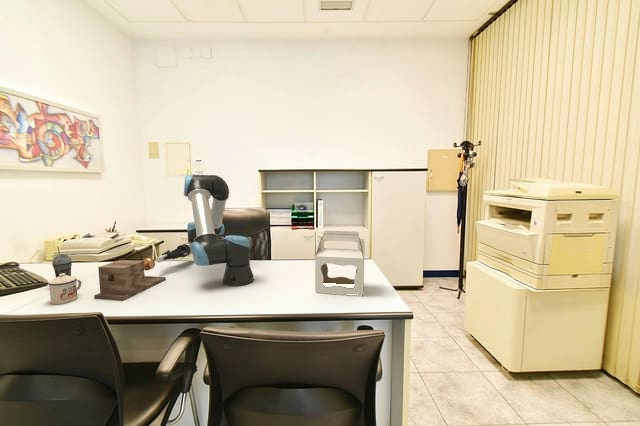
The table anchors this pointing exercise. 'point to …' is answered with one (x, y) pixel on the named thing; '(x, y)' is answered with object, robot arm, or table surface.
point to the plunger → (146, 264)
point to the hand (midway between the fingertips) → (158, 260)
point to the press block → (124, 280)
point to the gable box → (339, 263)
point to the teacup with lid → (64, 289)
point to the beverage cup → (62, 264)
